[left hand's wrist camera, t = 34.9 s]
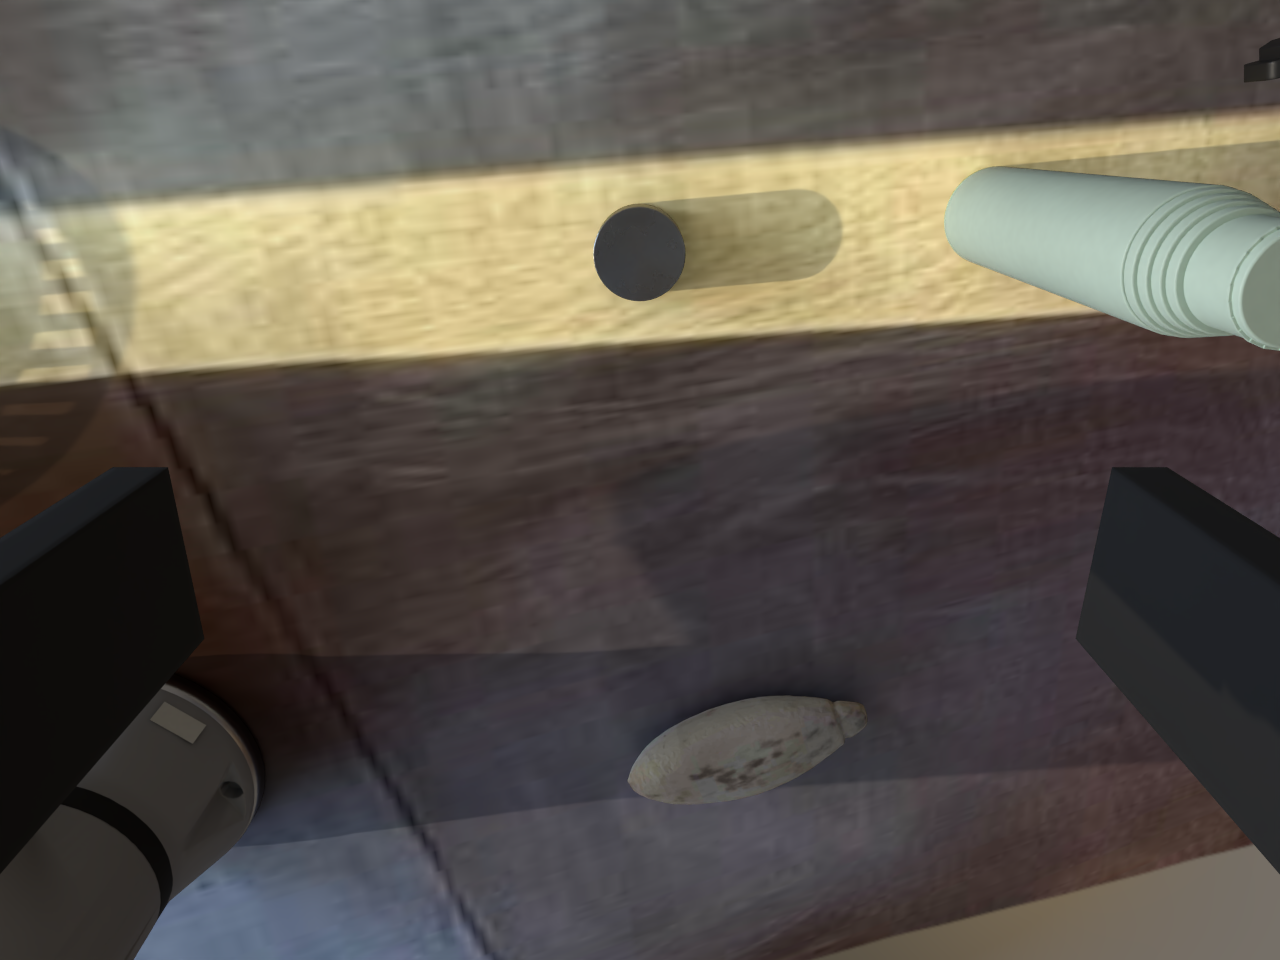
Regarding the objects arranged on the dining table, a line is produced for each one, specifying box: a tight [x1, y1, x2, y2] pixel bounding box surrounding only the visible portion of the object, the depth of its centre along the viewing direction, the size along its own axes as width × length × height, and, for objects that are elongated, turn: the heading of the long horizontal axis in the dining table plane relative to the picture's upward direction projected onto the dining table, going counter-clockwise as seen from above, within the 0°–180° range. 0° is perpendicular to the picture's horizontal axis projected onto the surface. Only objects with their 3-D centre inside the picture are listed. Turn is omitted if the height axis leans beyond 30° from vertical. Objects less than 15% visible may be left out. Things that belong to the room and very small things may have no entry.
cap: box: [593, 204, 685, 301], centre depth 44 cm, size 4×5×2 cm
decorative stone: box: [628, 695, 867, 805], centre depth 55 cm, size 6×16×3 cm, turn 110°
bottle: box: [944, 166, 1280, 350], centre depth 34 cm, size 5×5×23 cm
